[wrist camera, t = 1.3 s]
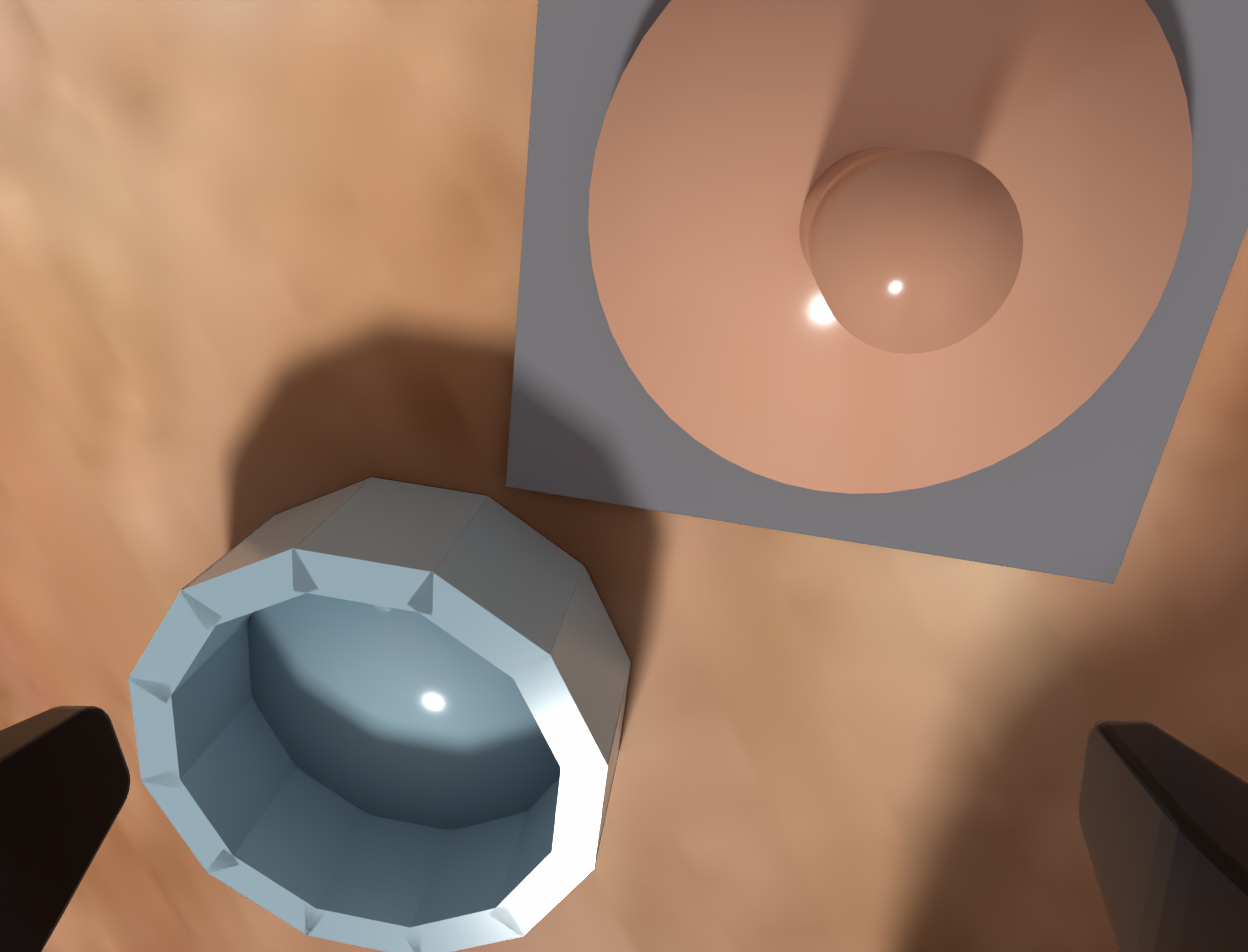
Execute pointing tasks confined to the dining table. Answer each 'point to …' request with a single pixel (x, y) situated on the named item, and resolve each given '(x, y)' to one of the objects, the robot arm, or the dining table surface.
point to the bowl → (388, 718)
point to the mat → (907, 520)
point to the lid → (887, 224)
